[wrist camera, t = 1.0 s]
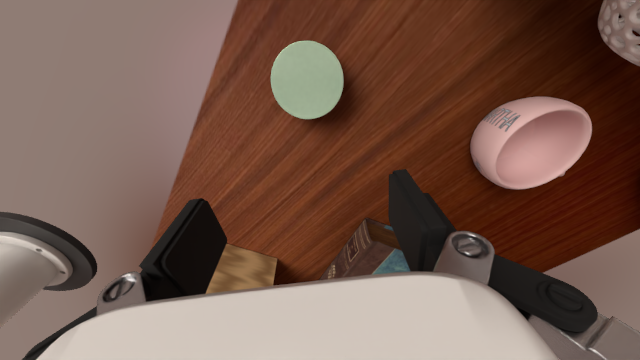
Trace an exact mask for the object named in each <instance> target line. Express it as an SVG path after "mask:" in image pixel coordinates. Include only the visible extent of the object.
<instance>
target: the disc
mask: <svg viewBox="0 0 640 360" xmlns="http://www.w3.org/2000/svg"><path fill="white" fill-rule="evenodd" d="M343 84H344V78H343V71H342V68H341V65H340V63H339V61H338V59H337V57H336V56H335V55H334V54H333V52H332V51H331V50H329V49H328V48H327V47H326V46H324V45H322V44H320V43H318V42H315V41H298V42H295V43H293V44H291V45H289V46H287V47H286V48H284V49H283V50H282V51H281V52H280V54H279V55H278V56H277V58H276V60H275V62H274V64H273V67H272V71H271V87H272V91H273V94H274V96H275V98H276V100H277V102H278V103H279V105H280V106H281V107H282V108H283V109H284V110H285V111H286V112H288V113H289V114H291V115H293V116H295V117H297V118H301V119H315V118H319V117H321V116H324V115H325V114H327V113H328V112H330V111H331V110H332V109H333V108H334V107H335V105H336V104H337V103H338V101H339V99H340V97H341V94H342V91H343Z"/></svg>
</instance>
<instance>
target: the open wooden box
mask: <svg viewBox="0 0 640 360" xmlns="http://www.w3.org/2000/svg"><path fill="white" fill-rule="evenodd" d="M276 264H277V258H273V257H270V256H267V255H263V254H260V253H257V252H253V251H250V250H246V249H243V248H240V247H236V246H233V245H230V244H226V246H225V249H224V251H223V253H222V256H221V258H220V260H219V263H218V265H217V267H216V270H215V272H214V275H213V277H212V279H211V282H210V284H209V286H208V289H207V291H206V293H205V294H209V293H217V292H225V291H233V290H241V289H250V288H258V287H267V286H273V283H274V276H275V270H276Z"/></svg>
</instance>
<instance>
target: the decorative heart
mask: <svg viewBox="0 0 640 360" xmlns="http://www.w3.org/2000/svg"><path fill="white" fill-rule="evenodd" d="M619 14H620V15H621V16H622V18H618V17H619ZM622 21H623V22H622ZM598 29H599V31H600V34H601V37H602V39H603V41H604V42H605V43H606V44H607V45H608V46H609V47H610V48H611V49H612V50H613V51H614V52H615V53H617V54H618V55H620V56H621V57H623V58H624V59H626V60H628V61H630V62H631V63H633V64H635V65H637V66H640V46H638V45H636V44H640V37H638V36H635V35H634V34H633V33H632V30H634V31H636V32H637V33H639V34H640V0H603V3H602V6H601V9H600V13H599V16H598Z"/></svg>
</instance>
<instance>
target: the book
mask: <svg viewBox="0 0 640 360" xmlns="http://www.w3.org/2000/svg"><path fill="white" fill-rule="evenodd" d="M396 272H411V271H410V269H409V267H408V264H407V262H406V259H405V257H404V255H403V252H402V250H401V248H400V245H399V243H398V240H397V238H396V236H395V233H394V231H393V229H392V227H391V226H388V225H385V224H382V223H379V222H377V221H373V220H371V219H369V218H365V219H364V221H363V222H362V223H361V225H360V226H359V227H358V229H357V230H356V231H355V233H354V234H353V235H352V237H351V238H350V239H349V241H348V242H347V243H346V245H345V246H344V247H343V249H342V250H341V251H340V253H339V254H338V255H337V257H336V258H335V259H334V261H333V262H332V263H331V265H330V266H329V267H328V268H327V270H326V271H325V272H324V274H323V275H322V276H321V278H320V279H319V280H328V279H337V278H346V277H355V276H364V275H375V274H385V273H396ZM319 280H318V281H319Z"/></svg>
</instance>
